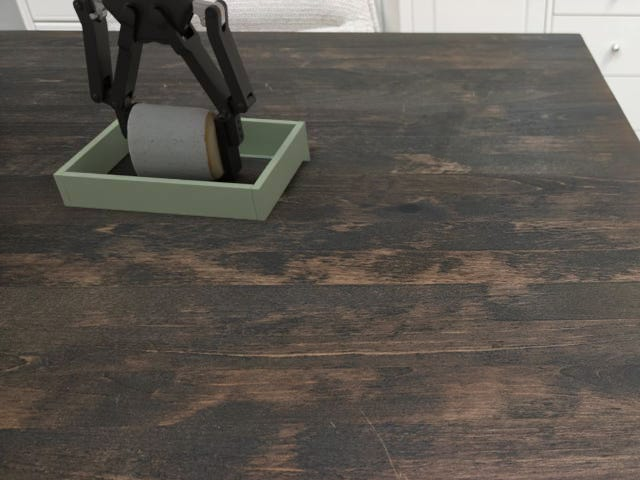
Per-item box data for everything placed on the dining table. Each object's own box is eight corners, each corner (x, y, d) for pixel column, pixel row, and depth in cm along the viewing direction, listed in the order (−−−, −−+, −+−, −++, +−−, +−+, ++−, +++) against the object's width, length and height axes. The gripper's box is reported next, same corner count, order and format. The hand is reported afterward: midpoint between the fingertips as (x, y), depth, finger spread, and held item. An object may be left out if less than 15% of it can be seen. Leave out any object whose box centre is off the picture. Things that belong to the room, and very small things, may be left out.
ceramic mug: (222, 193, 76) (206, 120, 71) (139, 195, 75) (117, 121, 70) (239, 148, 84) (225, 80, 79) (164, 149, 83) (146, 81, 78)
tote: (69, 217, 75) (52, 174, 72) (138, 150, 87) (126, 110, 84) (267, 232, 74) (258, 189, 71) (310, 161, 86) (305, 121, 82)
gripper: (266, -74, 66) (300, 161, 81) (37, -86, 68) (112, 147, 83) (236, -54, 61) (279, 194, 76) (-13, -68, 62) (77, 179, 77)
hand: (192, 169), depth 79 cm, fingers closed on ceramic mug, 9 cm apart
